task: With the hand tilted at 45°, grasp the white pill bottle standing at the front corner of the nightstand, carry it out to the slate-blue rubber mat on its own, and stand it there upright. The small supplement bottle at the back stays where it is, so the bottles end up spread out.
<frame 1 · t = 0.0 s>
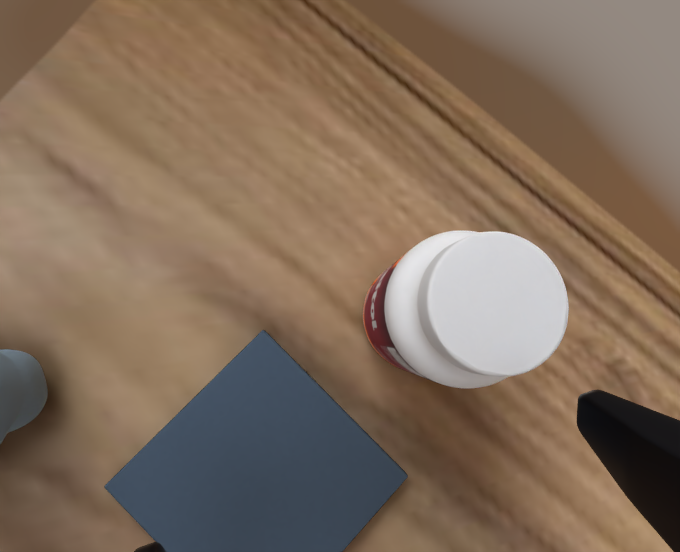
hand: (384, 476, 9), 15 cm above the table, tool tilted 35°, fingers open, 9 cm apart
mat: (261, 477, 22), on the table
pill bottle: (413, 316, 24), on the table
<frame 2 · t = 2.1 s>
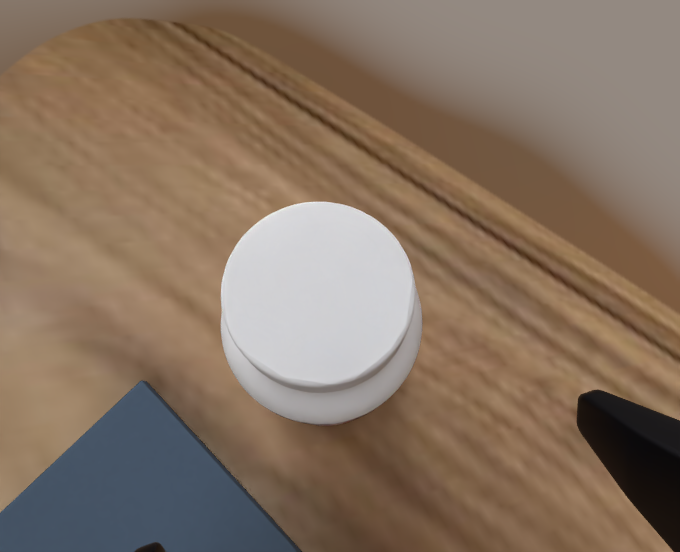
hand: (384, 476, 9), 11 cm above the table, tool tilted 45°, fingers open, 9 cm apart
pill bottle: (326, 359, 21), on the table
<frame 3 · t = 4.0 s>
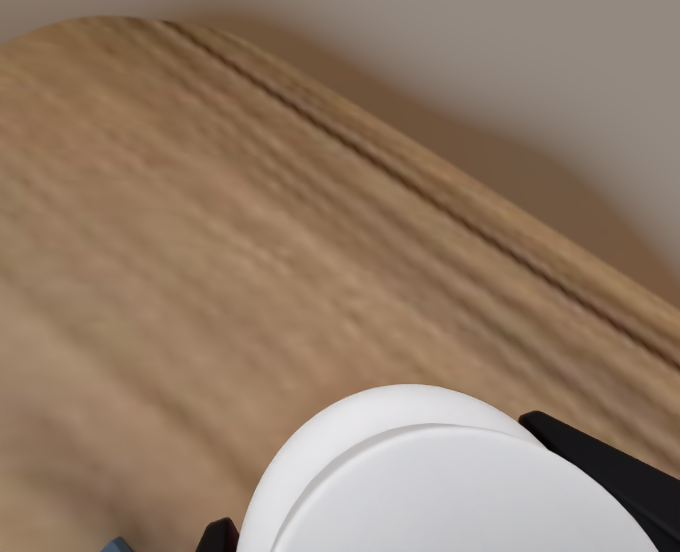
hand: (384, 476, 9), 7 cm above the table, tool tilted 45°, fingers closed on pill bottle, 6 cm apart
pill bottle: (374, 498, 15), on the table, touching gripper
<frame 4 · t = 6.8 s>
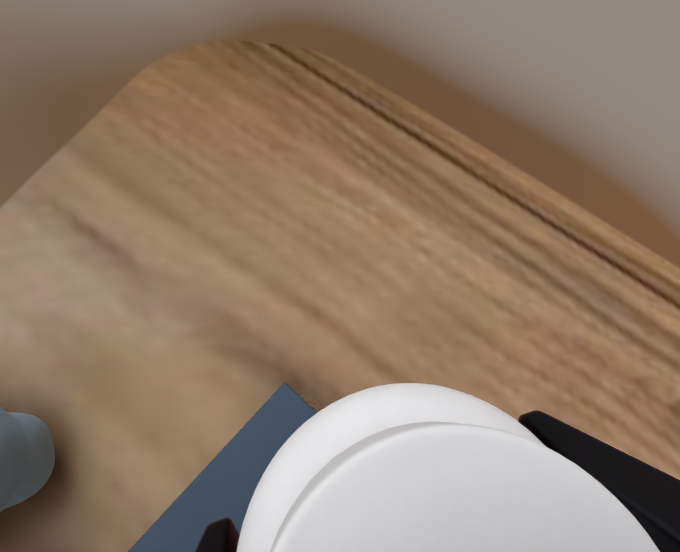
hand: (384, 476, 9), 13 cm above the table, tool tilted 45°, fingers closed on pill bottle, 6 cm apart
pill bottle: (375, 497, 15), point 6 cm above the table, touching gripper
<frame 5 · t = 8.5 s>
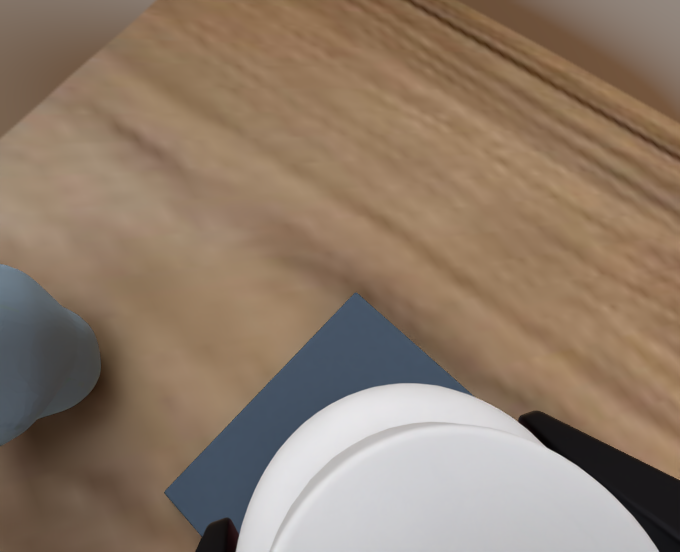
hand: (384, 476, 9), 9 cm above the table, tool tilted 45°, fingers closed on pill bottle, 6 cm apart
mat: (364, 481, 17), on the table
wolf head: (28, 386, 18), on the table
pill bottle: (374, 497, 15), point 2 cm above the table, touching gripper
when the fingers open (7 cm above the table, at t = 9.6 s): pill bottle stays where it is, resting on mat.
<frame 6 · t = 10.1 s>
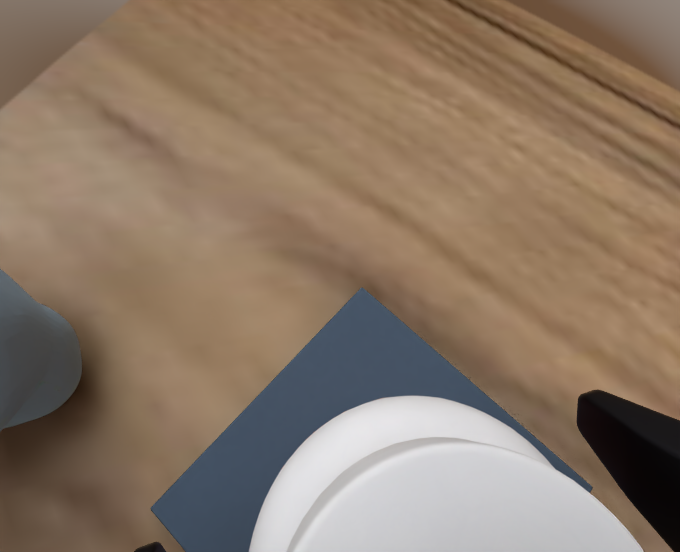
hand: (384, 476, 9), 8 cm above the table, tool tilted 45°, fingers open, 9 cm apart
mat: (373, 495, 15), on the table
wolf head: (4, 390, 17), on the table
pill bottle: (377, 501, 15), resting on mat
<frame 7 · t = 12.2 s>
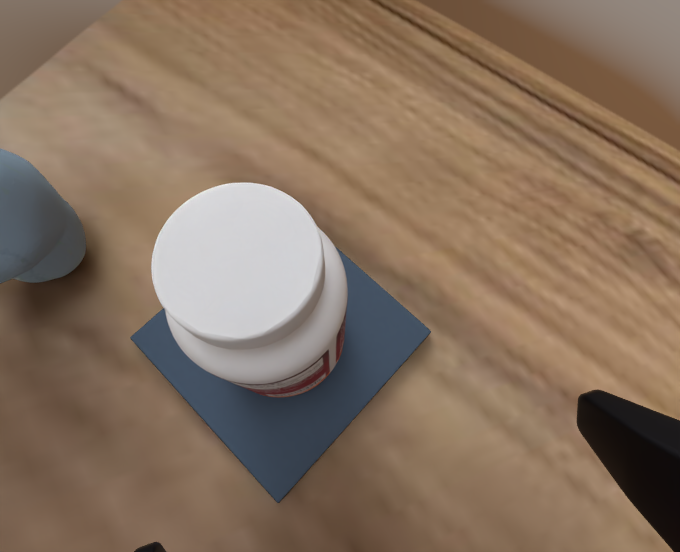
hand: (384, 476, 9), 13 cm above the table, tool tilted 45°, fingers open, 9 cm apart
mat: (283, 336, 22), on the table
wolf head: (31, 267, 24), on the table
pill bottle: (284, 337, 22), resting on mat
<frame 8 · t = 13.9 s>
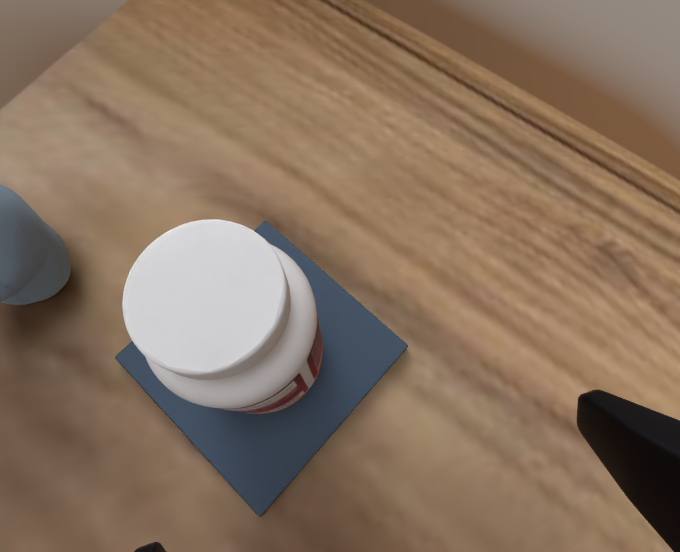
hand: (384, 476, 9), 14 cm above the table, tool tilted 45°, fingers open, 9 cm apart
mat: (264, 353, 23), on the table
wolf head: (18, 289, 24), on the table
pill bottle: (265, 354, 23), resting on mat
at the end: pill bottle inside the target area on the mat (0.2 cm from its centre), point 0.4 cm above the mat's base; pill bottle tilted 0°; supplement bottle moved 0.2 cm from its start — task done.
